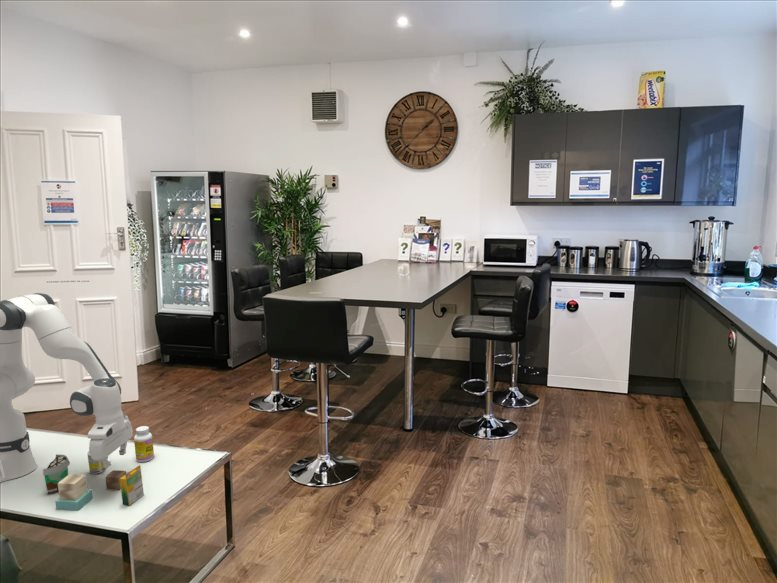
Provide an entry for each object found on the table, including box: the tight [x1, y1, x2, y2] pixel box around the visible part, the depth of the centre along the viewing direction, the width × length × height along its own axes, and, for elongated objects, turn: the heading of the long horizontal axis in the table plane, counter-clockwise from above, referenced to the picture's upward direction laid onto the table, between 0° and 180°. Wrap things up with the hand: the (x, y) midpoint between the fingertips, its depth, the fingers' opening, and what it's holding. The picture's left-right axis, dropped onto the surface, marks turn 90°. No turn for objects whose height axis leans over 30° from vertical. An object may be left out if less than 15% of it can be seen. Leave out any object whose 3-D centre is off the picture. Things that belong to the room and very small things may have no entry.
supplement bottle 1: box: [86, 446, 107, 475], centre depth 220 cm, size 6×6×10 cm
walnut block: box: [104, 469, 127, 491], centre depth 209 cm, size 5×5×5 cm
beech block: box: [58, 473, 88, 500], centre depth 198 cm, size 6×6×6 cm
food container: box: [42, 454, 71, 495], centre depth 209 cm, size 12×6×10 cm, turn 9°
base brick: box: [54, 489, 94, 511], centre depth 198 cm, size 8×8×3 cm
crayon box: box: [120, 464, 145, 507], centre depth 199 cm, size 7×3×12 cm, turn 162°
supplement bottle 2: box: [133, 425, 155, 463], centre depth 229 cm, size 7×7×13 cm
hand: (115, 460), depth 207 cm, fingers open, 8 cm apart
